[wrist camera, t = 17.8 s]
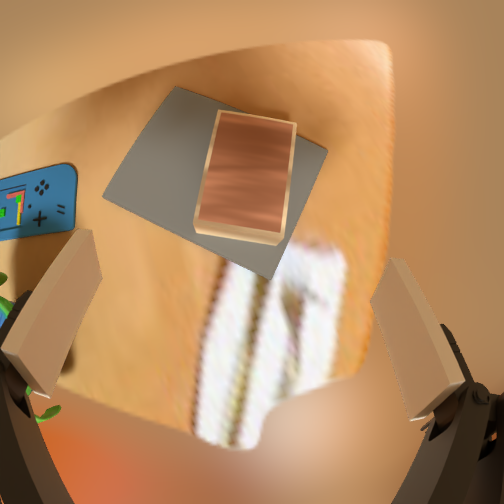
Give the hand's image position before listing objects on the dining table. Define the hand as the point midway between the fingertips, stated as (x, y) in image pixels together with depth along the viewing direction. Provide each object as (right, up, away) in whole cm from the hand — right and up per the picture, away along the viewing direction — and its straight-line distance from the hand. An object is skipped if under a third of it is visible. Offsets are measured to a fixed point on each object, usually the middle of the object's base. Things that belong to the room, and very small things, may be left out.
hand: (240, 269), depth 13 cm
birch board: (-1, +2, +16) cm, 16 cm away
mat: (-3, +9, +19) cm, 21 cm away
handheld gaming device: (-27, +6, +17) cm, 32 cm away
